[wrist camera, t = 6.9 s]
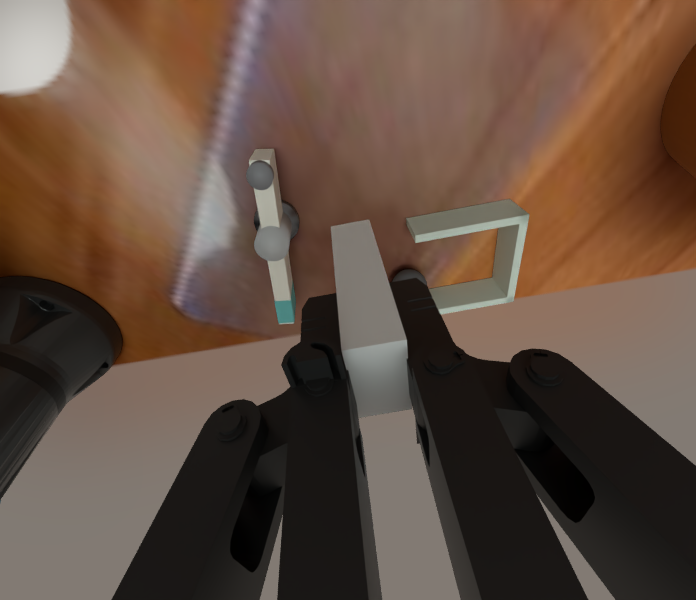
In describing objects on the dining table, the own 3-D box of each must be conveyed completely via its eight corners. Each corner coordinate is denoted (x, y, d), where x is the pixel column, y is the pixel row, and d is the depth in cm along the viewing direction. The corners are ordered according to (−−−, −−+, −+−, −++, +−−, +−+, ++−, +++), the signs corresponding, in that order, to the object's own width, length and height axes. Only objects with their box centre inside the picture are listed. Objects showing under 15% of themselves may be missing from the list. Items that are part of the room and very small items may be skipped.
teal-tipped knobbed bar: (276, 304, 39) (271, 331, 35) (247, 149, 29) (237, 164, 25) (301, 302, 39) (300, 329, 35) (282, 148, 29) (277, 163, 25)
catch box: (410, 297, 41) (418, 318, 38) (406, 218, 35) (415, 235, 31) (497, 281, 41) (513, 301, 37) (509, 198, 34) (529, 214, 31)
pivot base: (263, 243, 35) (262, 246, 34) (248, 203, 32) (247, 206, 32) (303, 235, 35) (303, 238, 34) (292, 195, 32) (292, 197, 32)
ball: (395, 297, 41) (391, 311, 37) (391, 266, 39) (386, 277, 36) (429, 295, 39) (427, 309, 36) (426, 263, 38) (424, 275, 34)
